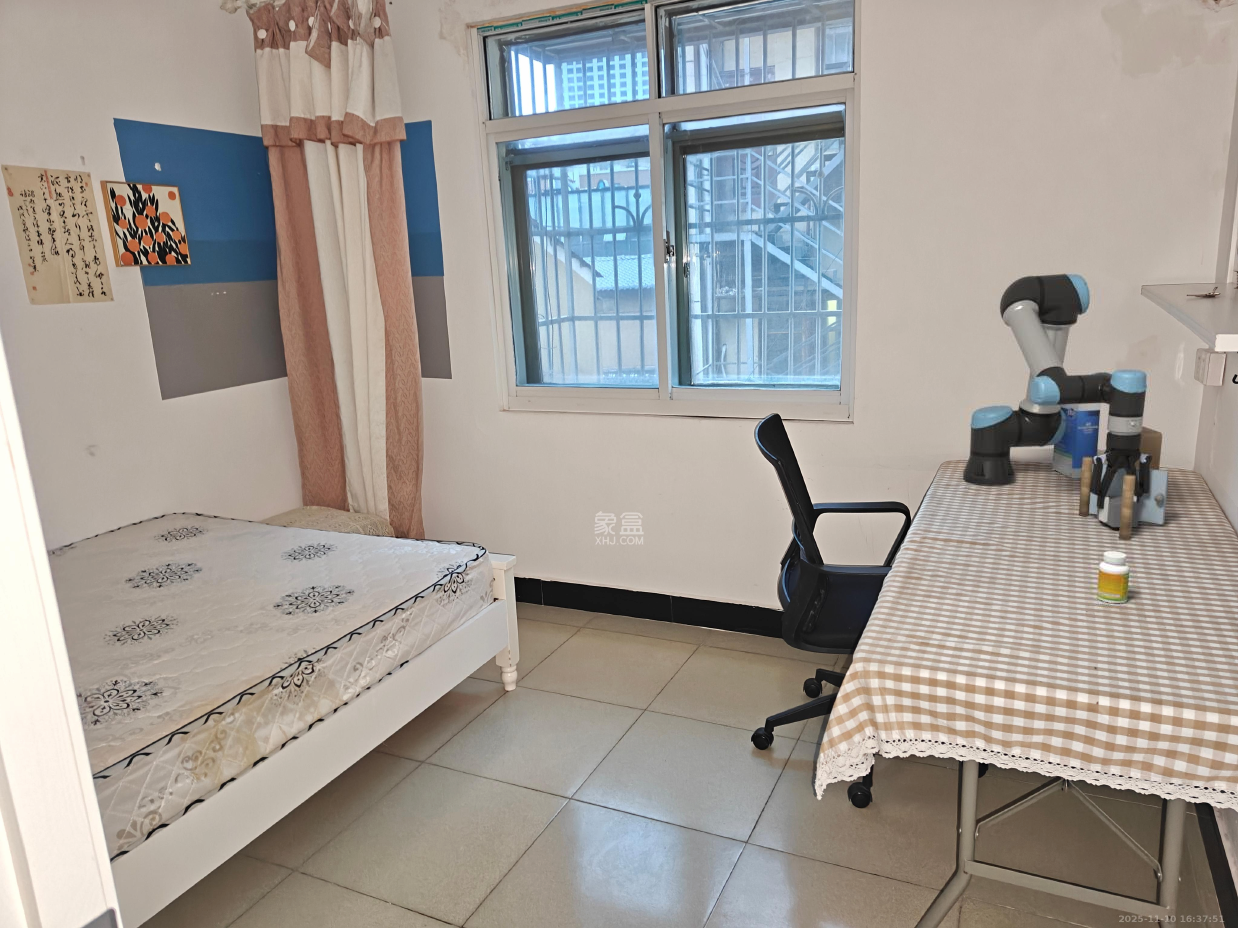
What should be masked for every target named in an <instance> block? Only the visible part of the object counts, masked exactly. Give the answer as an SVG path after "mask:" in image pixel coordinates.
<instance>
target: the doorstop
mask: <svg viewBox="0 0 1238 928" xmlns="http://www.w3.org/2000/svg"><path fill="white" fill-rule="evenodd" d="M1107 497H1109V504H1108V516H1107V522H1103V523H1104V524H1106V525H1108V526H1109V527H1111V528H1120V517H1121V505H1122V495H1115V496H1107ZM1099 510H1100V509H1099V508H1097V514H1096V519H1097V520H1099ZM1138 511H1139V503H1137V502H1135V501H1133V511H1132V523H1131V528H1132V527H1138Z"/></svg>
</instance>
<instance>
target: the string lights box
mask: <svg viewBox="0 0 1238 928" xmlns="http://www.w3.org/2000/svg"><path fill="white" fill-rule="evenodd" d="M1101 404H1102V403H1090V404H1064V405H1060V407H1061V410H1062V411H1063V412H1064V414H1065V417H1066V420H1065V422H1066V428H1065V432H1064V435H1063V437H1062V438H1061V440H1060V441H1059V442H1058V443H1056V444H1054V445H1053V454H1052V455H1053V456H1052V470H1053V469H1054V470H1056V471H1058V472H1057V473H1059V472H1060V473H1059V474H1061V473H1062V475H1064V476H1066V475H1067V476H1066V477H1068V478H1071V479H1073V480H1074V479H1076V480H1077V479H1081V476H1082V461H1083V457H1093V456H1094V455H1095V456H1098V451H1099V450H1098V447H1099V431H1100V418H1101V417H1100V416H1101ZM1092 467H1093V466H1092ZM1054 470H1053V471H1054ZM1056 471H1055V472H1056Z"/></svg>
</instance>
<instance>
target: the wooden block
mask: <svg viewBox="0 0 1238 928" xmlns="http://www.w3.org/2000/svg"><path fill="white" fill-rule="evenodd" d="M1139 433H1140V434H1141V435H1142V436H1141V446H1140V452H1141V454H1147V455H1150V456H1152V460H1151V463H1150V466H1149V469H1152V470H1160V464H1161V454H1162V444H1163V443H1162V442H1163V434H1162V432H1160V431H1157V430H1154V429H1152V428H1149V427H1146V426H1142V431H1141V432H1139ZM1139 463H1140V461H1139V459H1138V460H1137V461H1136V463H1135V466H1136V468H1139ZM1107 464H1108V462H1107V463H1106V465H1107Z"/></svg>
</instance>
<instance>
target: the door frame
mask: <svg viewBox="0 0 1238 928" xmlns="http://www.w3.org/2000/svg"><path fill="white" fill-rule="evenodd" d="M1092 466H1093V460H1092V457H1083V461H1082V476H1081V478H1080V491H1079V503H1078V516H1080V517H1084V518H1085V517H1086V518H1087V517H1089V515H1090V513H1089V508H1090V494H1091V492H1090V485H1091V478H1092ZM1134 488H1135V476H1134V475H1124V481H1123V493H1122V505H1121V517H1120V527H1119V530H1118V539H1119V540H1121V541H1130V540H1131V532H1132V527H1131V523H1132V511H1133V500H1134Z"/></svg>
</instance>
